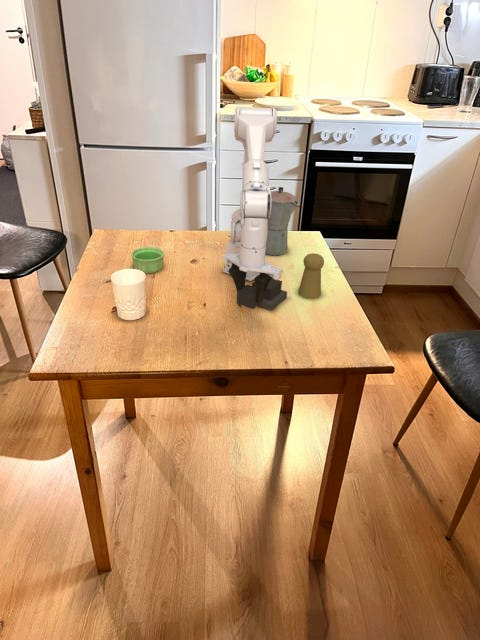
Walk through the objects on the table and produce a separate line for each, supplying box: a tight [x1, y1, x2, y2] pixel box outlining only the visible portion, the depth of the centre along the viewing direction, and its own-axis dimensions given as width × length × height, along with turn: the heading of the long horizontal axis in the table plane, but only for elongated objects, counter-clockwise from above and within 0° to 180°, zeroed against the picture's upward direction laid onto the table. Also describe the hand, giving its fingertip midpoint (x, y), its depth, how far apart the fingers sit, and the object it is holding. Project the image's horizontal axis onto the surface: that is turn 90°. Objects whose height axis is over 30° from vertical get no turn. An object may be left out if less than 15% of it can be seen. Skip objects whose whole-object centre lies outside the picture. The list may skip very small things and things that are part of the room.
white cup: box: [110, 268, 147, 321], centre depth 117 cm, size 8×8×10 cm
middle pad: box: [251, 278, 283, 301], centre depth 126 cm, size 6×6×3 cm
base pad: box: [257, 289, 288, 312], centre depth 128 cm, size 8×8×2 cm
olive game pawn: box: [298, 252, 325, 300], centre depth 129 cm, size 6×6×11 cm
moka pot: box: [265, 186, 300, 256], centre depth 149 cm, size 10×15×20 cm, turn 58°
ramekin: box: [131, 246, 165, 274], centre depth 140 cm, size 9×9×4 cm
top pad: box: [236, 283, 263, 310], centre depth 117 cm, size 5×5×3 cm
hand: (249, 297), depth 117 cm, fingers closed on top pad, 4 cm apart
